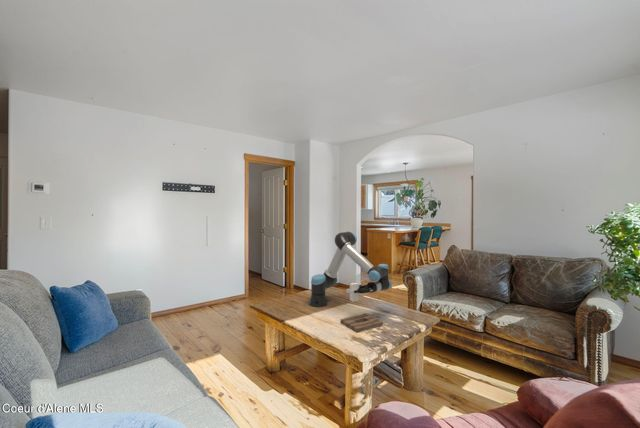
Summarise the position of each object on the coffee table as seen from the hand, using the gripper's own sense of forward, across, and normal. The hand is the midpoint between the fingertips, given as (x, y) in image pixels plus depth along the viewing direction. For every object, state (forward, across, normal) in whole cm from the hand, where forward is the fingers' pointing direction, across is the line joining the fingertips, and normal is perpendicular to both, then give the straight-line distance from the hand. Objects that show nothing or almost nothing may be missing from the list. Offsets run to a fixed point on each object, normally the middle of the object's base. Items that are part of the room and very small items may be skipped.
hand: (348, 291), depth 201 cm
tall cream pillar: (-5, 0, -7) cm, 9 cm away
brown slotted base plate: (-4, -9, -21) cm, 23 cm away
